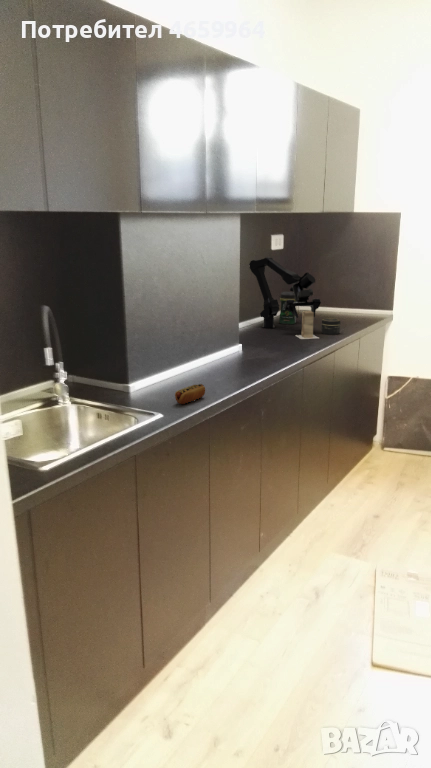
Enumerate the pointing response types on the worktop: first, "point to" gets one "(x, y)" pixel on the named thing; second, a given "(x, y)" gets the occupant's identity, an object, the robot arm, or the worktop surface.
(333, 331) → the jar
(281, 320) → the coffee jar
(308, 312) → the oak block
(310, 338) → the card
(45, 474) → the worktop surface
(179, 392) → the hot dog
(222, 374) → the worktop surface
